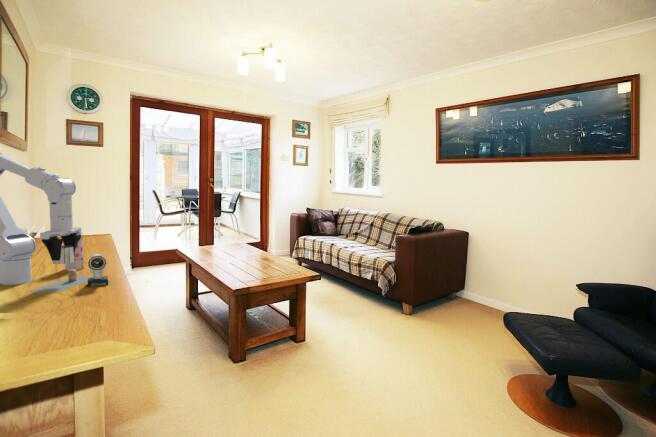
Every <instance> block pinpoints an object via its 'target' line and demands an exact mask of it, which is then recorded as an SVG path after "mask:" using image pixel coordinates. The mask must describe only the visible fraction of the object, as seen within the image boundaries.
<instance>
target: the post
mask: <svg viewBox="0 0 656 437" xmlns="http://www.w3.org/2000/svg"><path fill="white" fill-rule="evenodd" d="M67 272H68V277H67V278H69V282H73V281H77V272H78V271H77V270H76V269H73V270H68V271H67Z"/></svg>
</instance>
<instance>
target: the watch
mask: <svg viewBox="0 0 656 437" xmlns="http://www.w3.org/2000/svg"><path fill="white" fill-rule="evenodd" d="M108 264H109V261H107V259H106V258H105V257H104V255H102V253H95V254H94V253H93V254H92V255H91V256H90V259H88V261H87V266H88V268H89V270H90V272H91V274H92V276H93V277H92V278H88V281H87V288H90V287H101V286H109V275H103V273H104V272H105V268H106V265H108Z"/></svg>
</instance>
